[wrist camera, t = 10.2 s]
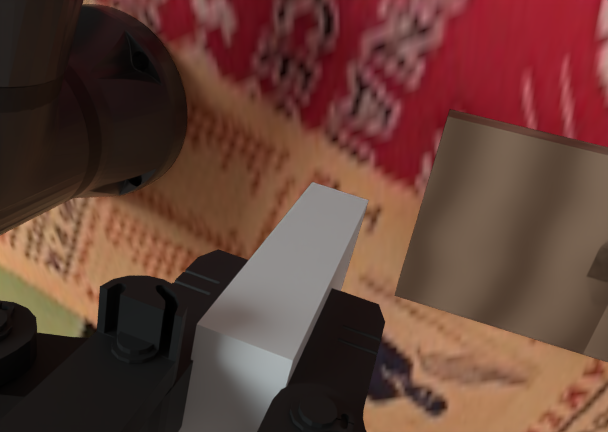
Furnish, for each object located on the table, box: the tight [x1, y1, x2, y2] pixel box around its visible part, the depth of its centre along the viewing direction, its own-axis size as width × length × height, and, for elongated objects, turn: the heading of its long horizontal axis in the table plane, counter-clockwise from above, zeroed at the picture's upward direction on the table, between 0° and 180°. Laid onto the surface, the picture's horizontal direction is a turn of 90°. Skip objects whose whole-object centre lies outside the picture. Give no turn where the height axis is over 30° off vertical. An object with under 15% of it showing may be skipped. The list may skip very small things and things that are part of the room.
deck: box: [395, 109, 608, 362], centre depth 37 cm, size 22×14×2 cm, turn 79°
